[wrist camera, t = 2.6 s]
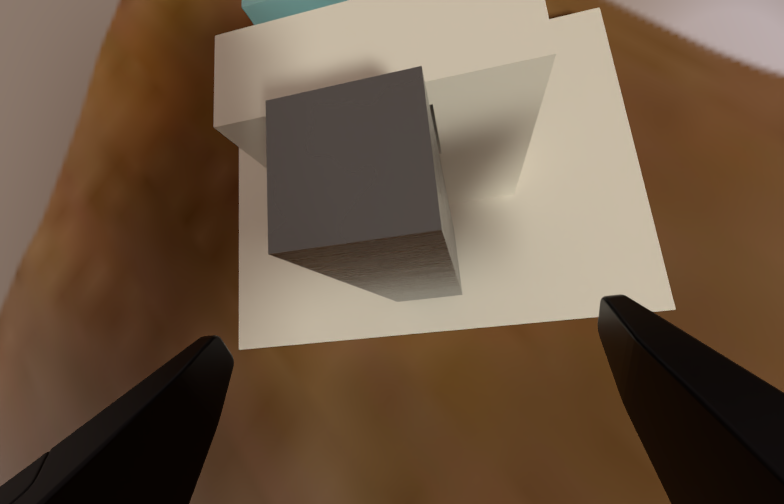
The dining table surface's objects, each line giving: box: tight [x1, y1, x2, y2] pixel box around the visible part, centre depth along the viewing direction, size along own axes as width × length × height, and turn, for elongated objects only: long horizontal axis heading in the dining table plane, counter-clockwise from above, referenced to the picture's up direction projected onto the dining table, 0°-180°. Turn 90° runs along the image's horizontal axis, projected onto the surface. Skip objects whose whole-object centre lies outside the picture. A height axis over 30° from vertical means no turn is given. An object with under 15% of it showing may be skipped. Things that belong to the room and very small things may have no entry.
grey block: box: [266, 66, 462, 302], centre depth 13 cm, size 12×3×12 cm, turn 5°
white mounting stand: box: [213, 0, 676, 350], centre depth 15 cm, size 15×20×11 cm
